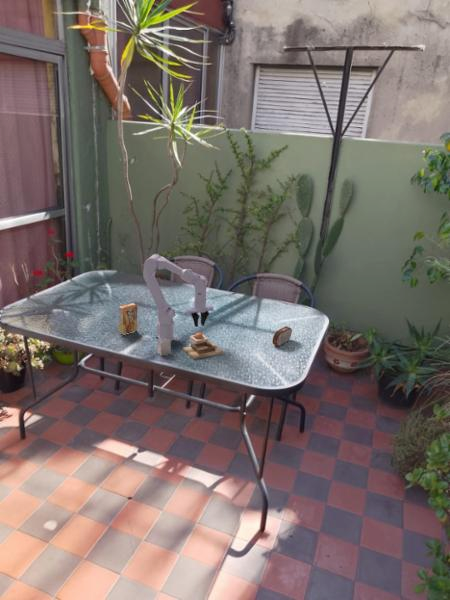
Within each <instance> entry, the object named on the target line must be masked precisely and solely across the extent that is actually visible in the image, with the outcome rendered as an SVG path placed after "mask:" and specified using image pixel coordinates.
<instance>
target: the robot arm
mask: <svg viewBox="0 0 450 600" xmlns="http://www.w3.org/2000/svg"><path fill="white" fill-rule="evenodd" d="M142 266H143V270H142V271H143V273H142V277H143V279H144V281H145V283H146V286H147V288H148V290H149V293H150V294H151V297H152V299H153V301H154V304H155V306H156V314H157V316H158V317H157V319H158V322H157V323H156V335H158V336H159V338H160V339H165V338H168V339H169V340H170V341H171V342H173V340H174V341H177V340H178V339H177V338H176V337H175V336H174V333H175V332H174V327H175V326H174V325H175V323H174V322H175V321H174V318H175V316H176V313H175V310H174V309H173V308H172V307H171V305H170V304H169V303H167V300H166V298H165V296H164V293H163V292H162V289H161V287H160V284H159V282H158V280H157V278H156V275H155V274H156V273H157V270H164V269H166V270H168V271H170V272H171V273H174V274H176V275H178V276H180V279H181V280H182V281H185V282H187V283H188V284H190V285H192V286H193V287H194V301H193V302H194V303H193V307H192V308H190V309H186V310H185V314H186V315H187V316H190V315H191V318H192V319H193V323H194V327H195V328H197V327H198V328H199V318H200V326H203V327H204V326H205V323H206V321H207V318H208V317H209V315H210V312H214V306H213V305H209V306H207V285H208V283H209V281H208V277H206V276H205V275H203V274H199V273H196V272H194V271H193V270H192V268H191V269H190V268H189V269H188V268H182V267H180V266H178V265H177V264H175V263H174V262H172V261H170V260H168V259H167V258H165V257H164V256H161V255H160V254H158V253H154V254H152V255H151V256H150V257H148V258H147V259H145V261H144V263H143V265H142ZM199 314H200V315H199Z"/></svg>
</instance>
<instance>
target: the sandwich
mask: <svg viewBox="0 0 450 600" xmlns="http://www.w3.org/2000/svg"><path fill="white" fill-rule="evenodd" d="M292 332H293V329H292V328H291V327H289V326H287V325H286V326H284V327H281V328H279V329H278V330H277V331H275V333H274V334H273V337H272V344H273V346H277V347H281V346H282V345H284V344H286V343H287V342H288V341H289V340H290V338H292V337H291V336H292Z"/></svg>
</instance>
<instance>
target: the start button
mask: <svg viewBox="0 0 450 600" xmlns="http://www.w3.org/2000/svg"><path fill="white" fill-rule="evenodd" d="M194 335H195V339H197V340H198V339H202V336H203V335H204V334H203V333H202V332H196V333H195V334H194Z"/></svg>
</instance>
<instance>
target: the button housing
mask: <svg viewBox="0 0 450 600" xmlns="http://www.w3.org/2000/svg"><path fill="white" fill-rule="evenodd" d="M204 341H208V342H209V338H208V337H207V336H206V335H204V334H203V336H202V339H198V340H197V339H195V334H192V335H189V342H190V343H191V342H192V343H193V344H194V343H199V342H204ZM192 343H191V344H192Z"/></svg>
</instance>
